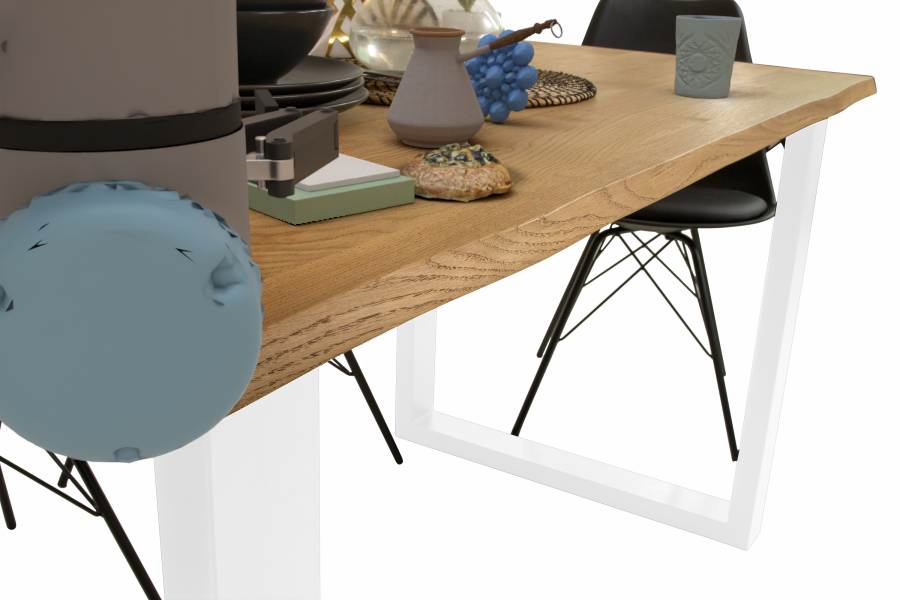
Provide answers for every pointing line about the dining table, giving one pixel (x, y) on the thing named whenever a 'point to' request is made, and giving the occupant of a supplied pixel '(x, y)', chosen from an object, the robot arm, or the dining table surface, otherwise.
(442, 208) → the dining table surface
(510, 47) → the grapes
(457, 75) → the coffee pot
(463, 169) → the bread roll
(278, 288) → the dining table surface
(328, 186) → the scale
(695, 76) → the grey embossed vase
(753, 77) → the dining table surface
